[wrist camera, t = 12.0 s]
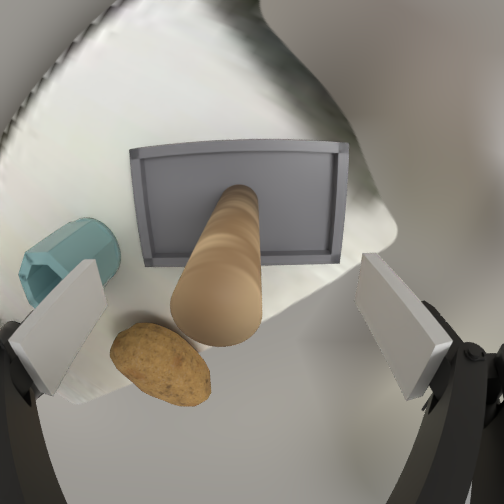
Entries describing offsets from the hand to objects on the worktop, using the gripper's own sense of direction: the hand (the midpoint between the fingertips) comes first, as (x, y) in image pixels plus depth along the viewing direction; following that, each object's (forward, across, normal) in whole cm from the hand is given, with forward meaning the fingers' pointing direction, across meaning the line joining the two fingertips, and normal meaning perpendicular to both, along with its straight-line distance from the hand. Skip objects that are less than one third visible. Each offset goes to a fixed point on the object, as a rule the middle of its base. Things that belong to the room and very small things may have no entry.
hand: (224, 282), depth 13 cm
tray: (+16, 0, 0) cm, 16 cm away
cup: (+16, -18, -5) cm, 24 cm away
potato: (+16, -10, -19) cm, 27 cm away
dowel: (+14, 0, 0) cm, 15 cm away
